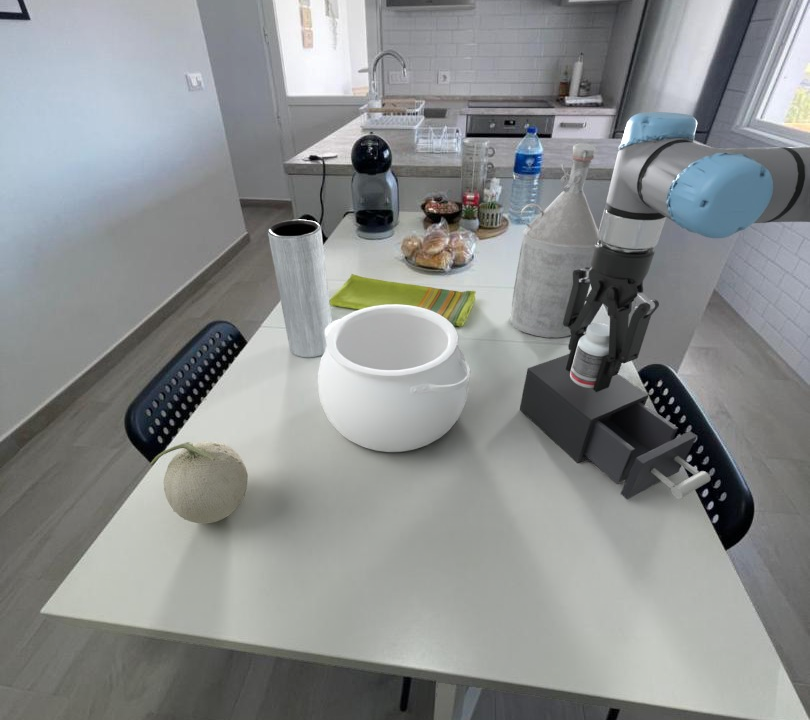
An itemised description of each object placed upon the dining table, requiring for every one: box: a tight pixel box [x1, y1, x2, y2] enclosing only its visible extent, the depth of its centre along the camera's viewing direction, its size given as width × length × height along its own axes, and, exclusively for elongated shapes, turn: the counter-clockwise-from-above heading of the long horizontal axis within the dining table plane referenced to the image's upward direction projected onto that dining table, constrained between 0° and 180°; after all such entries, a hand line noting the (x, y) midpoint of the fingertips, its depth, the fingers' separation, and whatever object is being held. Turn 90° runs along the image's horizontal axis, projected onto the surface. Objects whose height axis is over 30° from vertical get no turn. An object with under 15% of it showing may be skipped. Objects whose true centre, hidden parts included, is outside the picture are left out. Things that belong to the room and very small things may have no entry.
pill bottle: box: [570, 322, 610, 388], centre depth 71 cm, size 5×5×10 cm
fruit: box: [149, 441, 249, 524], centre depth 62 cm, size 10×12×15 cm
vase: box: [267, 219, 333, 358], centre depth 93 cm, size 10×10×27 cm
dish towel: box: [329, 273, 477, 328], centre depth 116 cm, size 15×36×3 cm, turn 71°
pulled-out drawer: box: [583, 402, 711, 500], centre depth 68 cm, size 18×11×8 cm, turn 27°
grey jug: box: [509, 143, 599, 339], centre depth 96 cm, size 13×17×40 cm
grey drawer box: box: [519, 353, 650, 464], centre depth 77 cm, size 15×13×10 cm
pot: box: [317, 304, 471, 453], centre depth 78 cm, size 29×26×16 cm
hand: (586, 377), depth 74 cm, fingers closed on pill bottle, 5 cm apart
